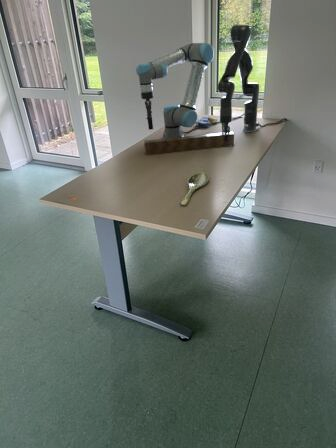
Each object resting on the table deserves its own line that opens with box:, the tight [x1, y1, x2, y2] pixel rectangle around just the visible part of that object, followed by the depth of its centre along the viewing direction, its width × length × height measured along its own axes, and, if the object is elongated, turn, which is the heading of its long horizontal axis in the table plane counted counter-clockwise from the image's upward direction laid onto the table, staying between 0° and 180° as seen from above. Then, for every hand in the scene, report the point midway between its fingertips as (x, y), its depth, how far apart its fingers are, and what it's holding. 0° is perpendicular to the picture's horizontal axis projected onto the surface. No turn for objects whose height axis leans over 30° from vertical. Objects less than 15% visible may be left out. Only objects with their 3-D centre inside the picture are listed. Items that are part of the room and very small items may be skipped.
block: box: [143, 131, 235, 156], centre depth 222 cm, size 59×5×8 cm, turn 95°
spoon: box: [180, 171, 210, 207], centre depth 170 cm, size 35×11×2 cm, turn 159°
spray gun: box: [195, 115, 218, 128], centre depth 272 cm, size 21×4×15 cm
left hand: (150, 126), depth 215 cm, fingers open, 13 cm apart
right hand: (225, 140), depth 223 cm, fingers closed on block, 5 cm apart
